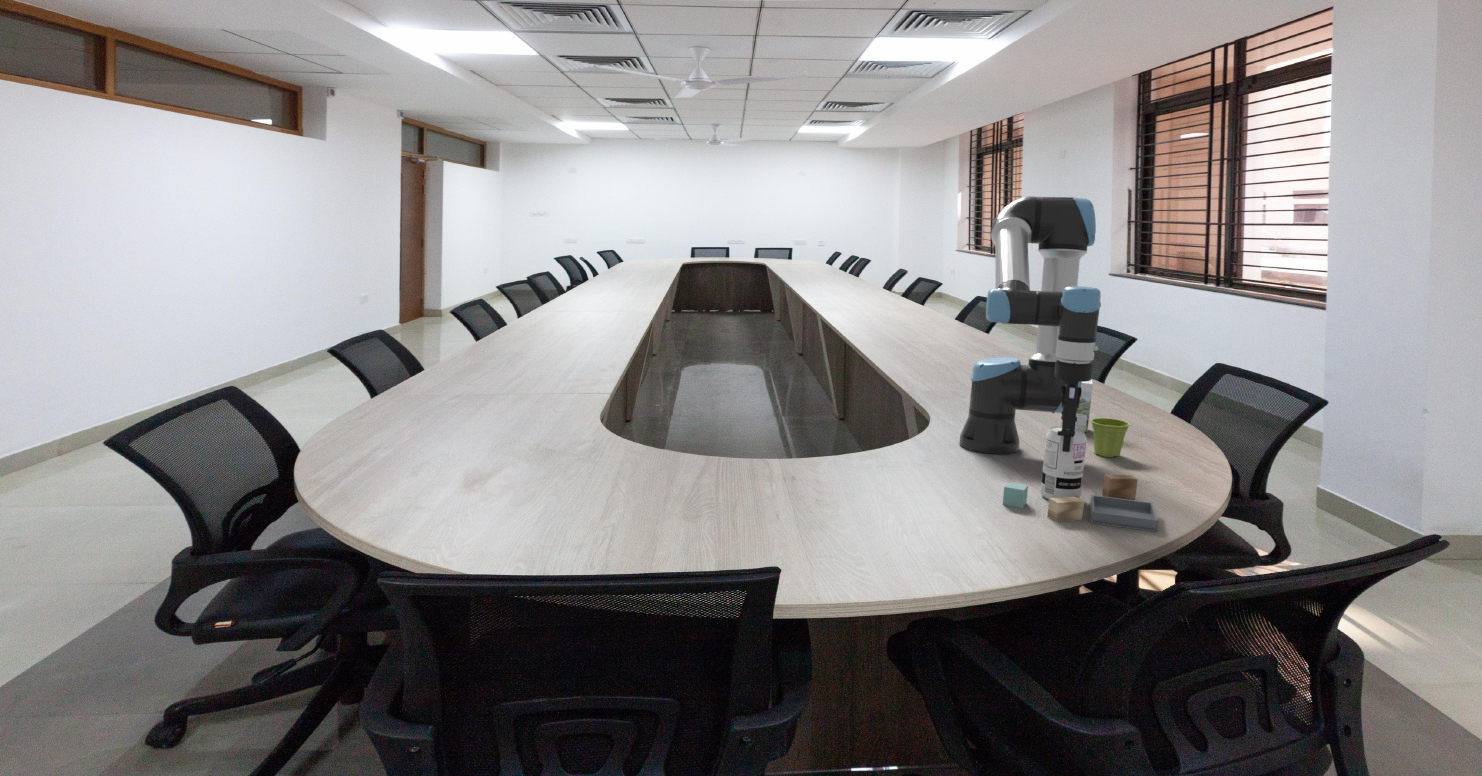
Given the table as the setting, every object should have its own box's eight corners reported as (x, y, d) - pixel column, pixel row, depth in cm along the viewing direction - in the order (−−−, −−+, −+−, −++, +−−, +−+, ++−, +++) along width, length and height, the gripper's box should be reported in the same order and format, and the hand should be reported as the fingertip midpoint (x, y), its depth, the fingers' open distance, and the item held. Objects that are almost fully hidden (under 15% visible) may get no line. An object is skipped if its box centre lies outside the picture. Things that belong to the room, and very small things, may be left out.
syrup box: (1087, 428, 261) (1092, 379, 258) (1087, 433, 255) (1093, 382, 253) (1066, 426, 263) (1071, 377, 260) (1066, 430, 257) (1071, 380, 254)
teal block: (1002, 505, 189) (1004, 486, 189) (1007, 500, 193) (1008, 482, 192) (1022, 508, 188) (1023, 490, 187) (1026, 503, 191) (1028, 485, 190)
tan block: (1056, 521, 180) (1058, 502, 179) (1047, 516, 183) (1049, 498, 182) (1082, 520, 182) (1084, 501, 181) (1072, 515, 185) (1074, 496, 184)
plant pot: (1086, 456, 230) (1090, 423, 229) (1087, 448, 239) (1091, 416, 237) (1126, 461, 227) (1130, 427, 225) (1125, 452, 235) (1129, 420, 234)
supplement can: (1046, 489, 201) (1053, 423, 198) (1084, 496, 197) (1092, 430, 194) (1035, 498, 195) (1042, 430, 192) (1074, 506, 190) (1082, 437, 187)
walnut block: (1107, 500, 195) (1110, 478, 194) (1101, 496, 198) (1104, 474, 197) (1135, 501, 195) (1137, 479, 194) (1129, 497, 198) (1131, 475, 197)
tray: (1091, 522, 180) (1092, 511, 179) (1089, 505, 191) (1090, 494, 190) (1156, 531, 176) (1158, 520, 175) (1151, 513, 187) (1152, 502, 187)
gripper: (1095, 371, 177) (1083, 475, 181) (1092, 354, 200) (1082, 446, 204) (1055, 367, 179) (1044, 470, 184) (1056, 351, 203) (1047, 442, 207)
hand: (1064, 458), depth 194 cm, fingers open, 13 cm apart
